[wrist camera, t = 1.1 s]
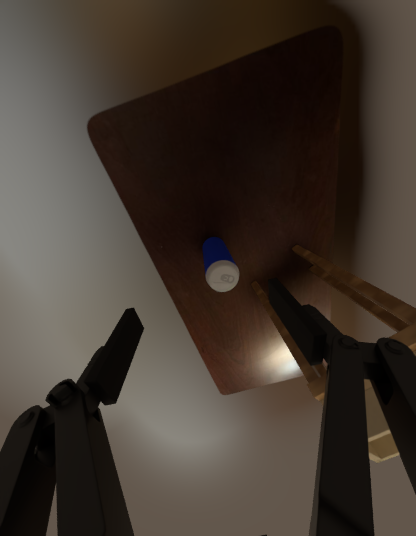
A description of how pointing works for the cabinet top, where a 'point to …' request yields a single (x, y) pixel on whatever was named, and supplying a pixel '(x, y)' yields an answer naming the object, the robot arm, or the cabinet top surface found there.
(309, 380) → the shelf
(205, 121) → the cabinet top surface
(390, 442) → the tray
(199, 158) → the cabinet top surface
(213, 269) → the beverage can
